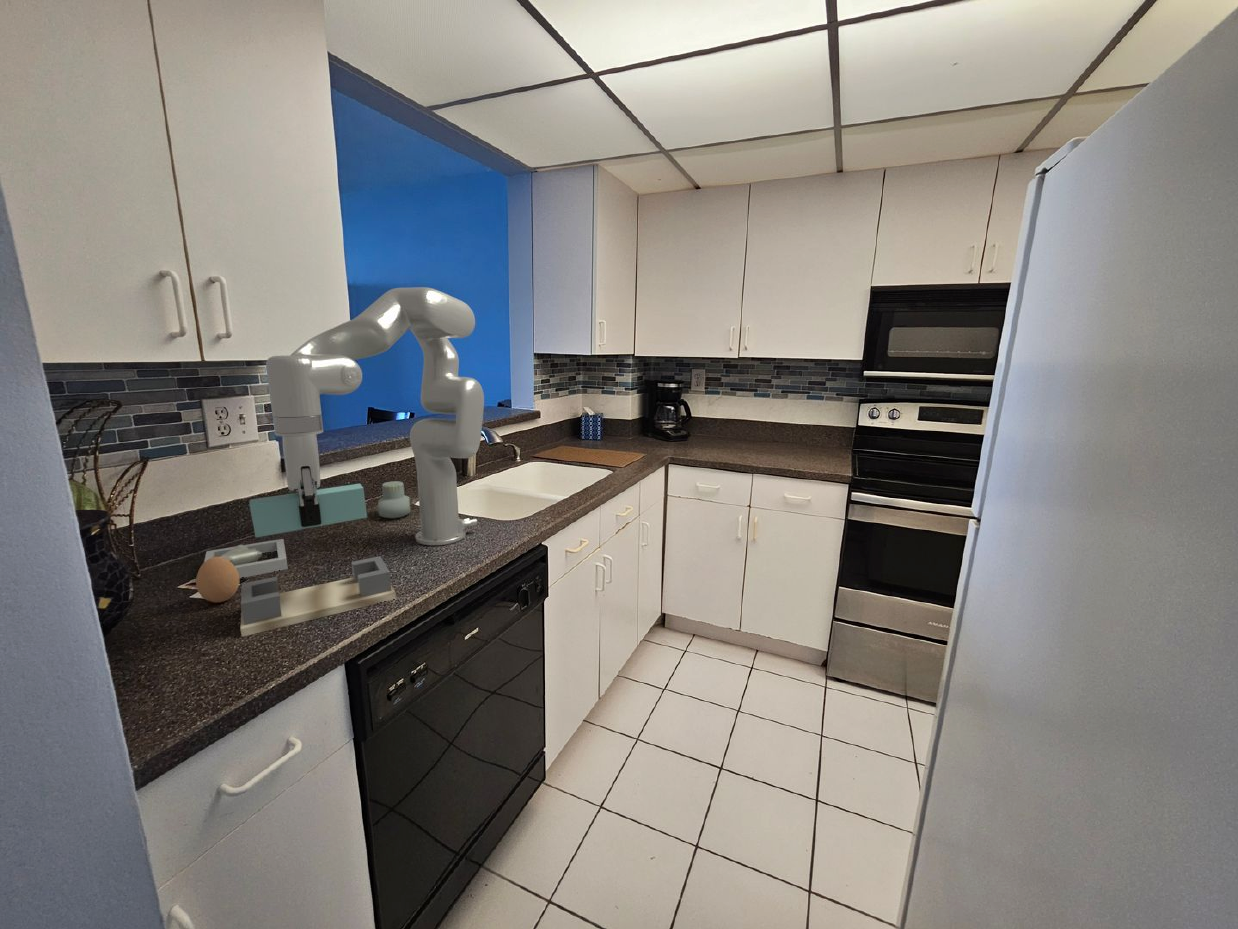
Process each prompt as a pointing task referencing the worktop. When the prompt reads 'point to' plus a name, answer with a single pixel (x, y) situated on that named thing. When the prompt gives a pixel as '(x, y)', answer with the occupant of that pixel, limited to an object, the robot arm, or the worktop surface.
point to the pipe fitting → (242, 555)
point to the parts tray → (260, 566)
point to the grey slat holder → (265, 600)
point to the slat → (285, 514)
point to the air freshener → (393, 500)
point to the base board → (316, 604)
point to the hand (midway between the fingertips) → (310, 521)
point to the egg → (217, 579)
